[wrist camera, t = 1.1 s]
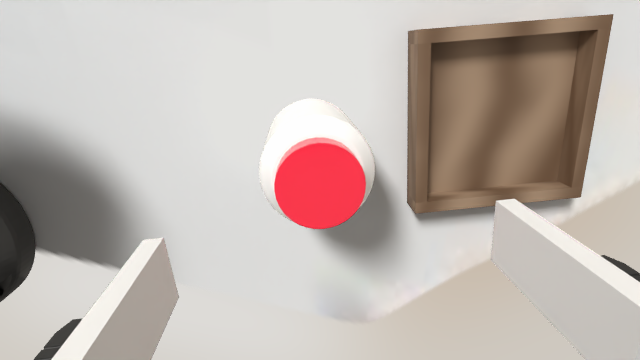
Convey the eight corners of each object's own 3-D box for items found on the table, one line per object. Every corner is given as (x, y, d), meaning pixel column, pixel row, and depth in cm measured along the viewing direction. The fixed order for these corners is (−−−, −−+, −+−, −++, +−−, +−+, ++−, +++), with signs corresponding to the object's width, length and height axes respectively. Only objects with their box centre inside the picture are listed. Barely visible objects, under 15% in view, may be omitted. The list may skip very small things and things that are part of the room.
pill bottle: (327, 199, 34) (342, 264, 24) (251, 159, 32) (231, 212, 22) (372, 126, 32) (410, 163, 22) (294, 81, 30) (294, 97, 20)
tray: (407, 202, 35) (415, 213, 32) (408, 31, 29) (418, 29, 27) (561, 187, 35) (580, 197, 33) (588, 17, 30) (613, 14, 28)
